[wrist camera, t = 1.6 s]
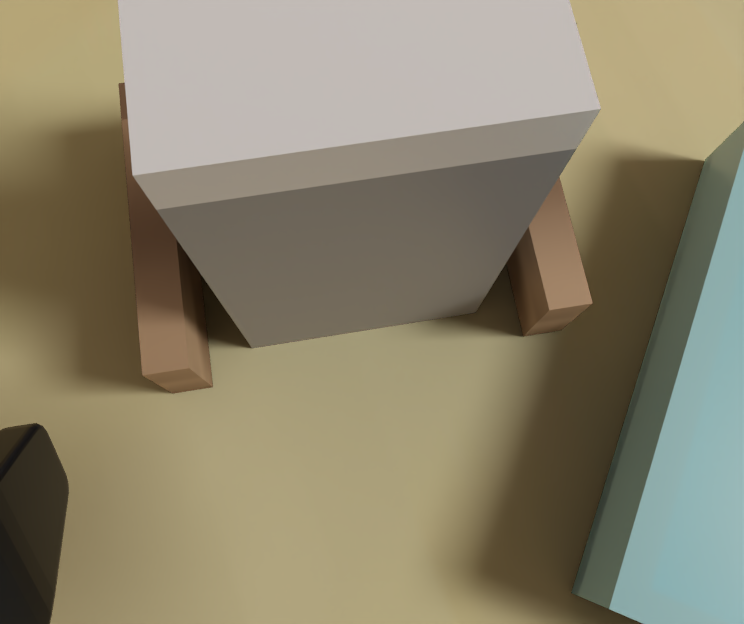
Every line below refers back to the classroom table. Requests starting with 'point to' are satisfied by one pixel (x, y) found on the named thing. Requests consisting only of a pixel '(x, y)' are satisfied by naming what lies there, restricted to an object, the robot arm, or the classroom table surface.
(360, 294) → the caddy
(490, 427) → the classroom table surface
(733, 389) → the tray
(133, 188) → the dock
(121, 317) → the classroom table surface
